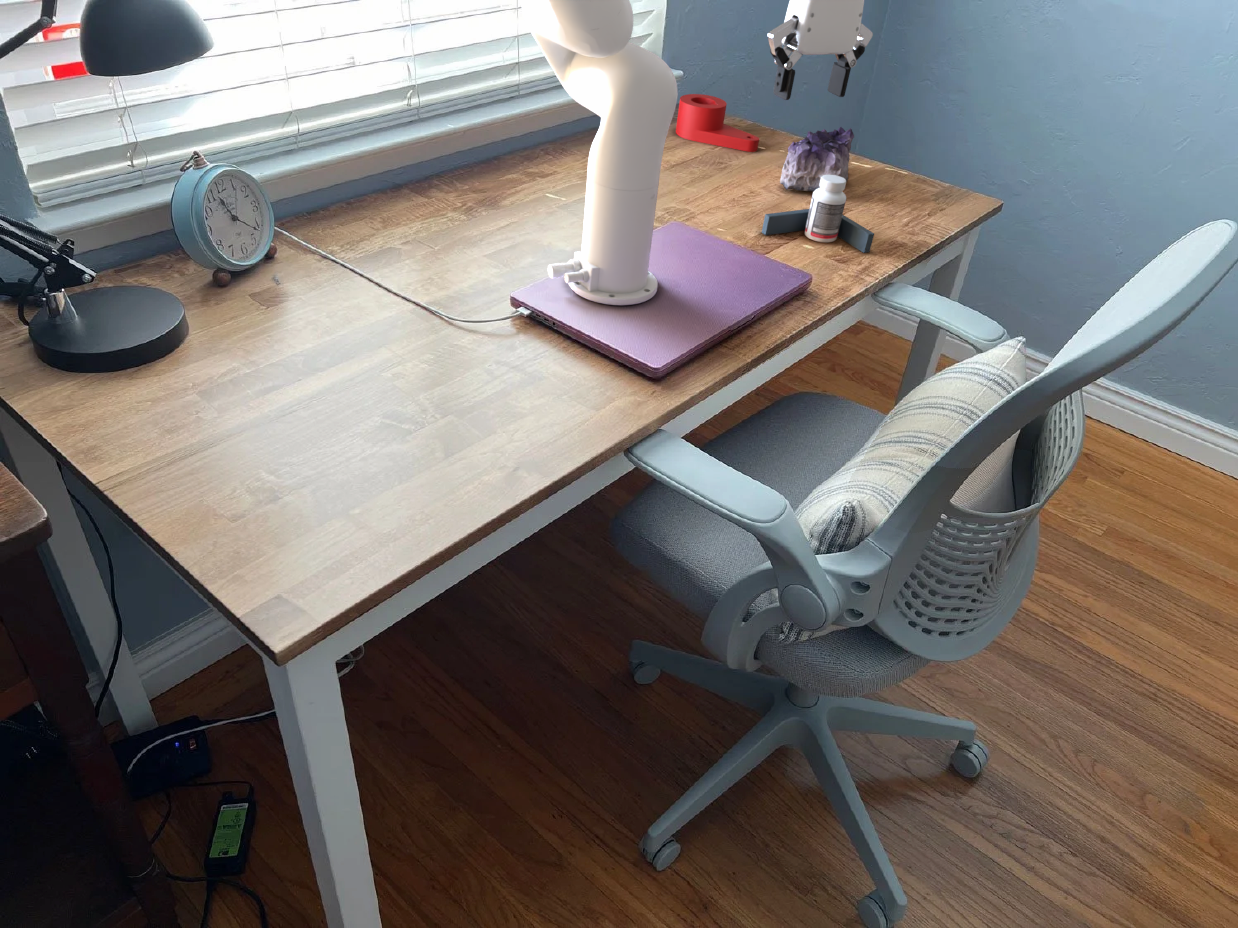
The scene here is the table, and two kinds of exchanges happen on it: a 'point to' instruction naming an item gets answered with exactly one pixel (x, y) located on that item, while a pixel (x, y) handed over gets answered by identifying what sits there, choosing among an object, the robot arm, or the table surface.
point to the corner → (797, 222)
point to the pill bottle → (826, 209)
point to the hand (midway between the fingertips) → (808, 95)
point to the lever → (710, 123)
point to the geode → (817, 159)
